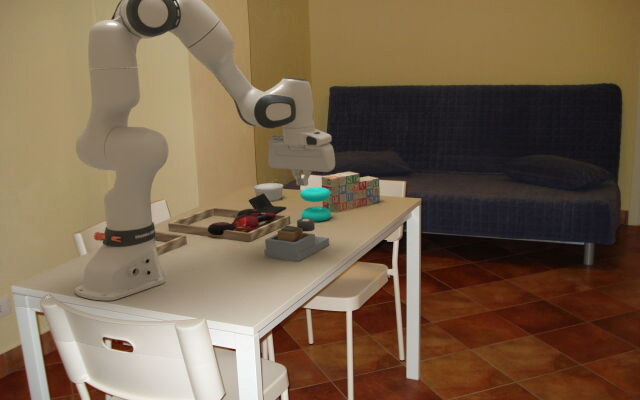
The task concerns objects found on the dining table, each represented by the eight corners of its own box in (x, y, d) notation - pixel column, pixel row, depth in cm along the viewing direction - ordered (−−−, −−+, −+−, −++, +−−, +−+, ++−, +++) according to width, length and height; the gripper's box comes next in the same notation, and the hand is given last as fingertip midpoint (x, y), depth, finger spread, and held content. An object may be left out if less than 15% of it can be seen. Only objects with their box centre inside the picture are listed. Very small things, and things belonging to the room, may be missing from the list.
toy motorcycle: (204, 240, 203) (248, 236, 196) (201, 224, 202) (244, 219, 195) (246, 222, 225) (287, 218, 218) (243, 208, 224) (284, 203, 217)
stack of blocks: (369, 200, 244) (368, 167, 241) (380, 203, 239) (379, 169, 236) (322, 209, 232) (321, 175, 230) (332, 213, 227) (331, 178, 225)
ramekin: (253, 197, 256) (252, 183, 255) (281, 195, 258) (281, 181, 257) (256, 203, 246) (255, 189, 244) (285, 201, 248) (284, 187, 246)
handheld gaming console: (277, 212, 225) (260, 188, 226) (262, 224, 227) (245, 201, 228) (288, 208, 236) (272, 186, 237) (273, 220, 238) (257, 198, 239)
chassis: (298, 261, 176) (297, 243, 175) (264, 256, 182) (263, 239, 180) (329, 244, 190) (328, 228, 189) (297, 240, 196) (296, 224, 195)
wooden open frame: (249, 241, 196) (248, 233, 196) (168, 230, 212) (168, 223, 211) (290, 223, 215) (289, 215, 215) (213, 214, 231) (213, 207, 231)
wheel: (309, 232, 186) (308, 223, 185) (294, 230, 188) (293, 221, 188) (317, 227, 190) (317, 218, 189) (303, 226, 192) (302, 217, 192)
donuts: (333, 191, 214) (304, 194, 212) (334, 220, 217) (305, 223, 214) (325, 185, 224) (297, 188, 221) (326, 213, 226) (298, 216, 224)
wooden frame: (151, 258, 184) (150, 249, 184) (103, 250, 193) (102, 241, 193) (186, 243, 197) (186, 235, 196) (140, 236, 206) (139, 229, 205)
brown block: (293, 250, 179) (292, 230, 178) (278, 248, 182) (277, 228, 181) (303, 245, 184) (302, 226, 182) (288, 243, 186) (287, 224, 185)
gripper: (261, 137, 183) (265, 185, 187) (325, 139, 173) (327, 190, 177) (274, 133, 189) (277, 180, 192) (336, 135, 178) (339, 185, 182)
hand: (302, 185), depth 184 cm, fingers closed
